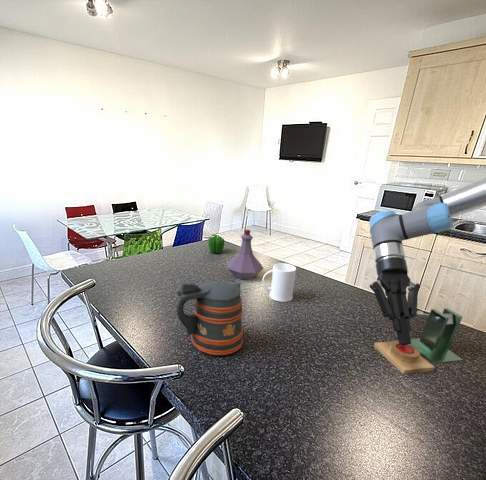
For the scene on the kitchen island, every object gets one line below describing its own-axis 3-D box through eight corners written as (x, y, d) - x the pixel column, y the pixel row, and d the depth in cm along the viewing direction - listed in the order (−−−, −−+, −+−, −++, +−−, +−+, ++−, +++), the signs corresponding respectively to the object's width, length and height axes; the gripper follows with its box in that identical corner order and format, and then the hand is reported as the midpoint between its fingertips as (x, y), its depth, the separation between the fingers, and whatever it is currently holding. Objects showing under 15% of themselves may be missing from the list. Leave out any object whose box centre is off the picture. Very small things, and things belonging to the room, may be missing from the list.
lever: (401, 318, 87) (401, 310, 87) (419, 317, 87) (419, 309, 87) (439, 324, 75) (439, 315, 75) (459, 323, 75) (459, 314, 75)
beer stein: (191, 369, 72) (191, 298, 64) (169, 338, 84) (166, 275, 76) (253, 347, 81) (259, 282, 73) (224, 321, 93) (227, 263, 85)
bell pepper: (224, 250, 158) (225, 232, 154) (223, 255, 150) (224, 236, 146) (209, 249, 159) (209, 231, 155) (207, 254, 151) (207, 235, 147)
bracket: (402, 342, 85) (416, 304, 80) (429, 340, 86) (444, 302, 81) (431, 366, 76) (448, 324, 70) (461, 363, 77) (480, 322, 72)
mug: (261, 301, 106) (264, 270, 101) (259, 290, 114) (262, 261, 109) (294, 302, 105) (299, 272, 100) (290, 292, 113) (294, 263, 108)
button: (404, 349, 78) (406, 344, 78) (414, 358, 75) (416, 352, 74) (392, 350, 78) (393, 345, 77) (402, 359, 75) (404, 353, 74)
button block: (399, 346, 83) (403, 335, 81) (432, 374, 73) (437, 361, 71) (372, 349, 82) (376, 337, 80) (402, 377, 72) (406, 364, 70)
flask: (259, 285, 118) (264, 237, 110) (220, 279, 123) (222, 233, 115) (265, 270, 132) (270, 227, 124) (230, 265, 137) (232, 223, 129)
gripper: (405, 267, 88) (421, 347, 79) (361, 265, 88) (372, 344, 79) (421, 257, 81) (441, 343, 72) (373, 254, 81) (387, 340, 72)
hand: (404, 344), depth 76 cm, fingers closed
